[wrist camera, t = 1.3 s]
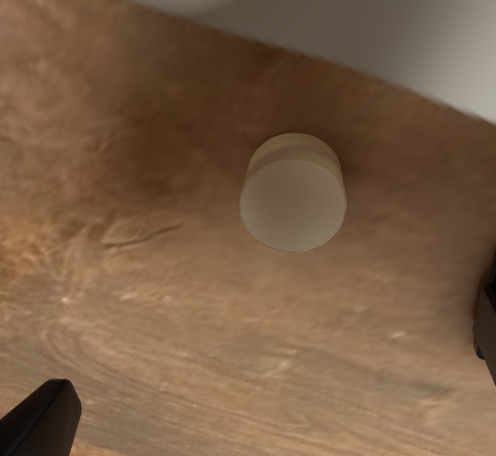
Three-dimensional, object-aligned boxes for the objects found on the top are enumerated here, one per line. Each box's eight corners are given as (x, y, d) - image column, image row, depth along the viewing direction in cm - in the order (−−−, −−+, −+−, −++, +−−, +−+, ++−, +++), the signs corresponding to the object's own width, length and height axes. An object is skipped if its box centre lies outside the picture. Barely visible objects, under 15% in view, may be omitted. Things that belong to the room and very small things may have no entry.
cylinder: (342, 128, 16) (347, 157, 14) (341, 215, 18) (345, 252, 16) (242, 134, 16) (233, 162, 14) (251, 218, 18) (244, 254, 16)
